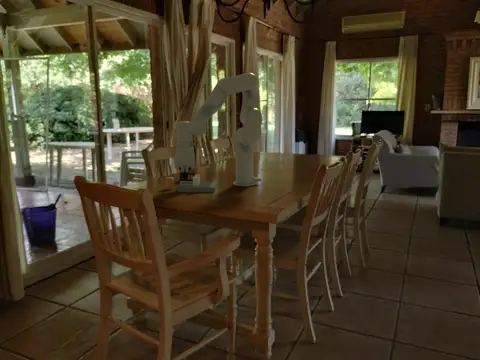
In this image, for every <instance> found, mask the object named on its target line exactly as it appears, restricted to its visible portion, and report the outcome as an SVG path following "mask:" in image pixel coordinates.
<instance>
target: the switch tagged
mask: <svg viewBox="0 0 480 360" xmlns="http://www.w3.org/2000/svg"><path fill="white" fill-rule="evenodd" d="M194 176H195V177H198V183H200V182H201V174H197V175H194Z"/></svg>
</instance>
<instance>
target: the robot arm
mask: <svg viewBox="0 0 480 360" xmlns="http://www.w3.org/2000/svg"><path fill="white" fill-rule="evenodd" d="M258 81H259V80H258V77H257V75H256V74H255V73H252V72H246V73H242V74H238V75H235V76H234V75H233V76H228V77H223V78H220V79H219V80H218V81H217V82H216V84H215V86H214V87H213V89H212V90H211V92H210V94H209V95H208V97H207V98H206V99H205V101H204V102H203V103H202V105H201V106H200V108H199V109H198V110H197V111H196V112H195V114H194V116H193V117H192V119H191V121H189V120H179V121H177V122H176V146H177V147H175V151H174V153H175V154H174V164H175V165H174V169H177V170H179V172H180V171H181V172H182V178H183V179H184V180H187V178H188V171H189V170H190V169H194V168H195V163H196V157H195V156H196V155H195V151H194V149H195V148H194V147H193V146H195V142H193V141H192V136H202V135H204V134H206V132H207V131H208V128H207V124H206V123H207V122H208V121H209V119H210V118H211V117H212V116H213V115H215V114H217V113H218V112H219V111H220V109H221V108H222V106H223V105H224V103H225V102H226V100H227V98H229V95H232V94H238V93H239V94H240V93H242V102H241V103H242V104H241V109H240V113H239V120H240V122H241V124H243V127H240V128H238V129H237V130H236V131H235V133H234V145H235V181H233V182H232V184H233V186H237V187H253V186H255V185H256V184H257V182H262V177H255V176H254V148H253V146H254V147H255V146H256V145H257V143H259V140H260V135H261V130H262V124H263V113H262V112H261V110H260V109H259V108H258V107H259V98H260V96H259V95H260V94H259V90H258V88H257V85H258ZM184 167H186V172H185V170H184Z"/></svg>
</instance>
